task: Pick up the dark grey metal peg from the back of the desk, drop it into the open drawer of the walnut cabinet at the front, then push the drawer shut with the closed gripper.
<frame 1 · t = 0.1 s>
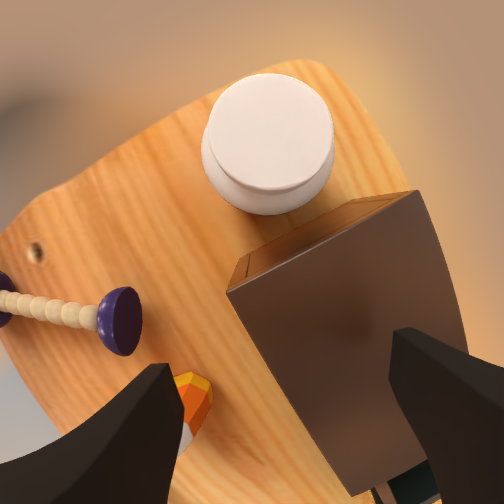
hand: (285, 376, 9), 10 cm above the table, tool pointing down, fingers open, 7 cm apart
candy corn: (181, 390, 21), on the table
purple dumbbell: (130, 318, 17), point 3 cm above the table
cabinet: (342, 320, 20), on the table
pill bottle: (264, 172, 19), on the table
drawer: (405, 455, 16), point 4 cm above the table, slide at 7.0 cm
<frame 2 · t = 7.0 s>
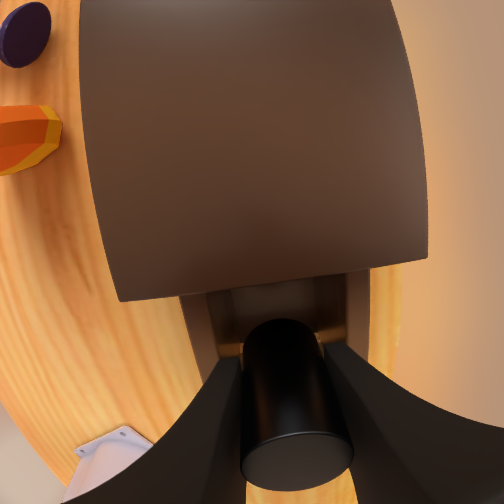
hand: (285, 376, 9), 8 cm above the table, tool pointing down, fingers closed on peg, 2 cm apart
peg: (280, 350, 10), point 6 cm above the table, touching gripper
candy corn: (37, 142, 14), on the table
purple dumbbell: (31, 28, 10), point 2 cm above the table
cabinet: (242, 87, 14), on the table
drawer: (279, 335, 12), point 4 cm above the table, slide at 7.0 cm
when the fingers open (8 cm above the table, at t = 9.4 s): peg drops 5 cm, resting on drawer.
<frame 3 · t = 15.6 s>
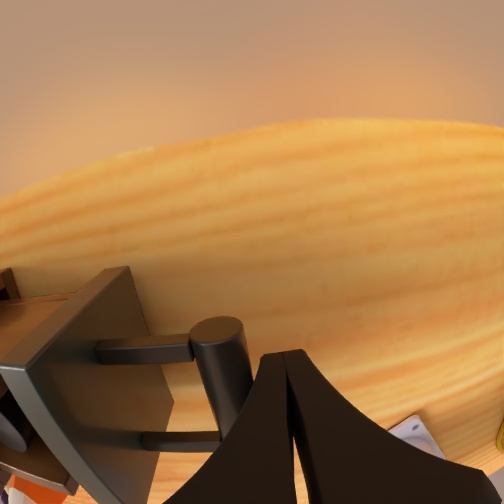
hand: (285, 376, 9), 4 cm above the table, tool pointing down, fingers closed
peg: (55, 357, 11), point 2 cm above the table, touching drawer
candy corn: (52, 459, 17), on the table
drawer: (41, 388, 9), point 4 cm above the table, slide at 6.5 cm, touching gripper, peg
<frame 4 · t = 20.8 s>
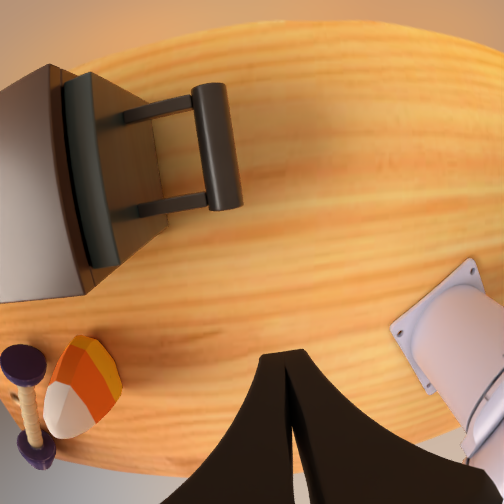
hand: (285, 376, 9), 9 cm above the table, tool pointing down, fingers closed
candy corn: (101, 360, 20), on the table
purple dumbbell: (18, 358, 18), point 2 cm above the table
cabinet: (51, 193, 17), on the table
drawer: (61, 184, 12), point 4 cm above the table, slide at 0.0 cm, touching cabinet, peg
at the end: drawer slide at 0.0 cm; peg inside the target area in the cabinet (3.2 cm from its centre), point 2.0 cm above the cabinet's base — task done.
